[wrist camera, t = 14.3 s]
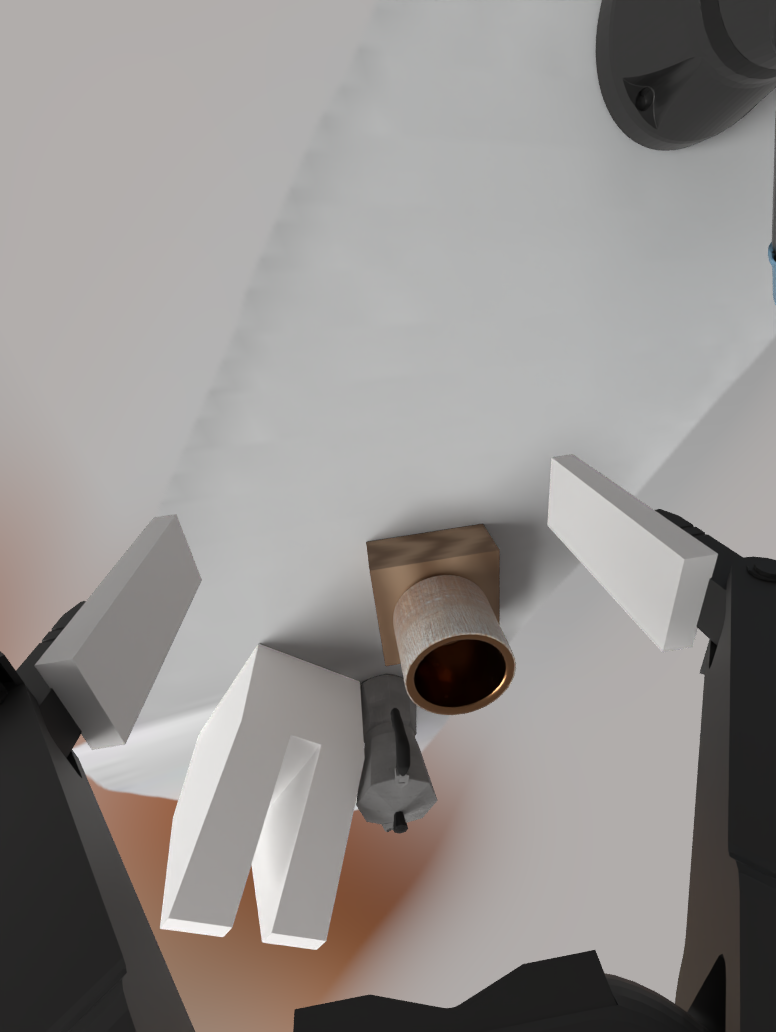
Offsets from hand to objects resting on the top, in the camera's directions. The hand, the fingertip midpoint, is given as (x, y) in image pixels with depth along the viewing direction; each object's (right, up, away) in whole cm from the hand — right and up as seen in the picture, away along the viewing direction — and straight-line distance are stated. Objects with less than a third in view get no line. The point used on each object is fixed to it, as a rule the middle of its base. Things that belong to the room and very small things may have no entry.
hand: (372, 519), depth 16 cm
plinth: (+6, -8, +39) cm, 41 cm away
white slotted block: (-15, -27, +47) cm, 56 cm away
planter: (+6, -11, +34) cm, 37 cm away
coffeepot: (0, -25, +48) cm, 54 cm away
